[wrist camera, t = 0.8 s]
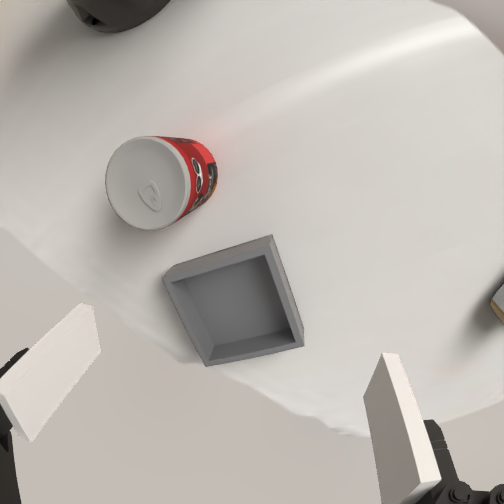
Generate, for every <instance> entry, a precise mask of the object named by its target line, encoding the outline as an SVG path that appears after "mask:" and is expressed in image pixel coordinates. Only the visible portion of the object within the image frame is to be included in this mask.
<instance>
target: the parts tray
mask: <svg viewBox="0 0 504 504" xmlns="http://www.w3.org/2000/svg"><path fill="white" fill-rule="evenodd" d="M162 280H163V282H164V284H165V286H166V289H167V291H168V293H169V295H170V297H171V299H172V301H173V304H174V306H175V308H176V310H177V312H178V314H179V316H180V318H181V320H182V322H183V324H184V326H185V328H186V330H187V332H188V334H189V336H190V338H191V340H192V342H193V344H194V346H195V348H196V350H197V352H198V354H199V356H200V358H201V359H202V361H203V363H204V365H205V367H207V366H213V365H219V364H224V363H229V362H235V361H240V360H245V359H250V358H255V357H259V356H264V355H269V354H273V353H277V352H282V351H286V350H290V349H295V348H299V347H303V346H304V327H303V324H302V321H301V318H300V315H299V312H298V309H297V306H296V303H295V300H294V297H293V294H292V291H291V288H290V285H289V282H288V279H287V276H286V273H285V270H284V267H283V264H282V261H281V259H280V256H279V253H278V250H277V247H276V244H275V241H274V238H273V235H269V236H265V237H262V238H259V239H256V240H253V241H249V242H246V243H243V244H240V245H237V246H233V247H230V248H227V249H224V250H221V251H218V252H214V253H211V254H208V255H205V256H202V257H199V258H195V259H192V260H189V261H186V262H183V263H180V264H177V265H174V266H173V267H172V268H171V269H170V270H169V271H168V272H167V273H166V274H165V275H164V276H163V277H162Z"/></svg>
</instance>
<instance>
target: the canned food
mask: <svg viewBox="0 0 504 504" xmlns="http://www.w3.org/2000/svg"><path fill="white" fill-rule="evenodd" d="M217 177H218V173H217V166H216V163H215V160H214V158H213V156H212V154H211V153H210V152H209V150H208V149H207V148H206V147H204V146H203V145H202V144H200V143H199V142H197V141H194V140H191V139H184V138H172V137H160V136H143V137H137V138H133V139H131V140H128V141H127V142H125V143H124V144H122V145H121V146H120V147H119V148H118V149H117V150H116V151H115V152H114V154H113V155H112V157H111V159H110V161H109V163H108V166H107V171H106V178H105V185H106V192H107V196H108V199H109V202H110V204H111V206H112V208H113V209H114V211H115V212H116V214H117V215H118V216H119V217H120V218H121V219H122V220H123V221H124V222H126V223H127V224H128V225H130V226H132V227H134V228H136V229H140V230H145V231H154V230H158V229H162V228H165V227H167V226H169V225H171V224H173V223H174V222H176V221H178V220H179V219H181V218H182V217H184V216H185V215H187V214H188V213H190V212H191V211H193V210H194V209H196V208H197V207H199V206H200V205H202V204H203V203H204V202H206V201H207V200H208V199H209V198H210V197H211V195H212V194H213V192H214V190H215V187H216V184H217Z"/></svg>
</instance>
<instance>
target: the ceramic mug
mask: <svg viewBox="0 0 504 504" xmlns="http://www.w3.org/2000/svg"><path fill="white" fill-rule="evenodd" d="M490 304H491V308H492V309H493V311H494V312H495V314H496V315H497V316H498V318H499V319H500V320H501V322H502V323H503V324H504V284H503V285H502V286H501V287H500V288H499V290H498V291H497V292H496V293H495V295H494V296H493V298H492V300H491V303H490Z"/></svg>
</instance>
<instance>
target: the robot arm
mask: <svg viewBox="0 0 504 504" xmlns="http://www.w3.org/2000/svg"><path fill="white" fill-rule="evenodd" d="M169 1H170V0H67V2H68V3H69V5H70V6H71V8H72V9H73V11H74V12H75V14H76V15H77V17H78V18H79V19H80V20H81V21H82V22H83V23H84V24H85V25H87V26H89V27H91V28H93V29H95V30H98V31H101V32H119V31H124V30H127V29H130V28H133V27H135V26H137V25H139V24H141V23H143V22H145V21H146V20H148V19H150V18H151V17H152V16H154V15H155V14H156V13H158V12H159V11H160V10H161V9H162V8H163V7H164V6H165V5H166V4H167V3H168V2H169ZM100 353H101V349H100V344H99V339H98V334H97V328H96V323H95V317H94V310H93V306H90V305H86V304H83V303H80V304H79V305H78V306H76V307H75V308H74V309H73V310H72V311H71V312H70V313H69V314H67V315H66V316H65V317H64V318H63V319H62V320H61V321H60V322H59V323H57V324H56V325H55V326H54V327H53V328H52V329H51V330H50V331H49V332H48V333H47V334H45V335H44V336H43V338H41V339H40V340H39V341H38V342H37V343H36V344H35V345H34V346H33V347H32V348H31V349H28V348H25V349H24V350H21V351H20V352H18V353H16V354H15V355H14V356H13V357H12V358H11V359H10V361H8V362H7V363H6V364H5V366H4V367H2V368H1V369H0V504H21V499H20V494H19V489H18V483H17V477H16V470H15V462H14V455H13V445H12V436H11V432H10V429H11V428H12V427H14V429H15V430H16V432H17V434H18V435H19V436H21V437H22V438H24V439H25V440H27V441H29V442H31V443H32V441H33V440H34V439H35V437H36V436H37V435H38V433H39V432H40V430H41V429H42V428H43V426H44V425H45V424H46V422H47V421H48V420H49V418H50V417H51V416H52V414H53V413H54V412H55V410H56V409H57V408H58V406H59V405H60V404H61V402H62V401H63V400H64V398H65V397H66V396H67V395H68V393H69V392H70V391H71V389H72V388H73V387H74V386H75V384H76V383H77V382H78V380H79V379H80V378H81V377H82V375H83V374H84V372H86V370H87V369H88V368H89V366H90V365H91V364H92V363H93V361H94V360H95V359H96V358H97V356H98V355H99V354H100ZM363 398H364V403H365V408H366V413H367V418H368V423H369V428H370V433H371V439H372V444H373V449H374V455H375V461H376V468H377V474H378V481H379V488H380V494H381V502H382V504H504V484H500V485H498V486H495V487H494V488H493V489H492V490H491V491H490V492H487V491H473V490H472V489H471V488H470V486H469V485H467V484H466V483H465V482H462V481H459V479H458V477H457V474H456V471H455V468H454V464H453V461H452V459H451V456H450V453H449V450H448V449H447V444H446V441H444V436H443V433H442V431H441V428H440V427H439V426H438V425H437V424H436V422H435V421H434V420H423V419H422V416H421V413H420V411H419V408H418V405H417V402H416V400H415V397H414V394H413V392H412V389H411V386H410V384H409V381H408V379H407V376H406V374H405V371H404V368H403V366H402V364H401V361H400V359H399V356H398V354H393V353H382V354H381V357H380V359H379V362H378V364H377V367H376V369H375V371H374V374H373V376H372V378H371V381H370V383H369V385H368V388H367V390H366V392H365V394H364V396H363Z"/></svg>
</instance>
